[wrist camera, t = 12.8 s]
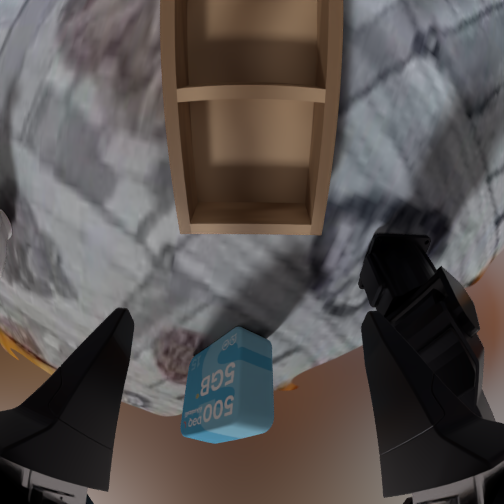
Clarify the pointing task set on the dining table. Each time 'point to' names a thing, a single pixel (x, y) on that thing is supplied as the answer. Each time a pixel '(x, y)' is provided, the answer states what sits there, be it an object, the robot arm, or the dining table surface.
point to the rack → (251, 112)
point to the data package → (230, 389)
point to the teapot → (4, 239)
